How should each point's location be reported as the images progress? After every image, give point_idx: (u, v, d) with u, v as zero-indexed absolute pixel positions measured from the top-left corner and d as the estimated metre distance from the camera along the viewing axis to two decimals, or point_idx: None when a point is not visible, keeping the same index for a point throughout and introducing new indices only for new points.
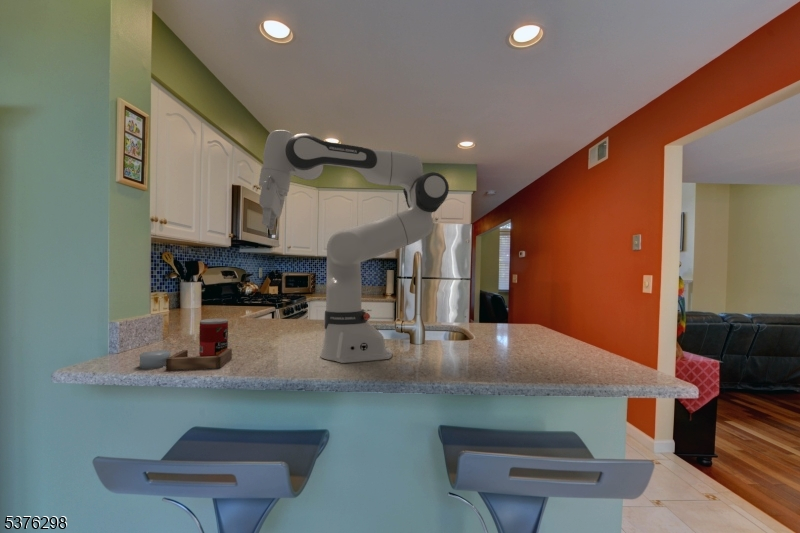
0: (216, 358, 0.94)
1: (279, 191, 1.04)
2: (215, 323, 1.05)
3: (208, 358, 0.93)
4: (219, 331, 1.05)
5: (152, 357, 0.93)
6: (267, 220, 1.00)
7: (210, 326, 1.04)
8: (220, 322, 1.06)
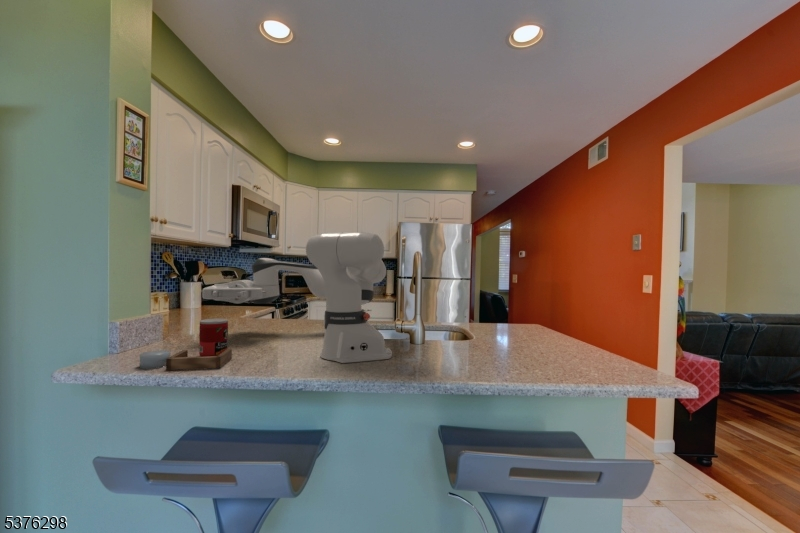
0: (216, 358, 0.94)
1: (243, 297, 1.31)
2: (215, 323, 1.05)
3: (208, 358, 0.93)
4: (219, 331, 1.05)
5: (152, 357, 0.93)
6: (242, 295, 1.22)
7: (210, 326, 1.04)
8: (220, 322, 1.06)
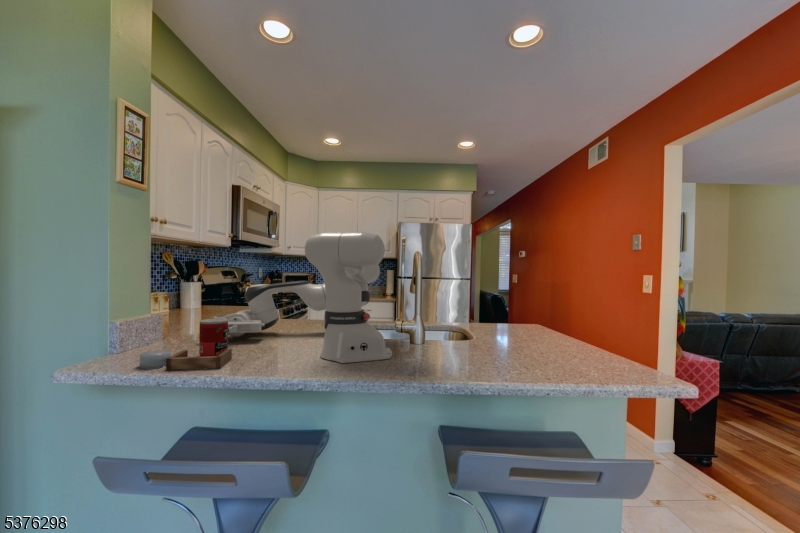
0: (216, 358, 0.94)
1: None
2: (215, 323, 1.05)
3: (208, 358, 0.93)
4: (219, 331, 1.05)
5: (152, 357, 0.93)
6: (231, 331, 1.21)
7: (210, 326, 1.04)
8: (220, 322, 1.06)
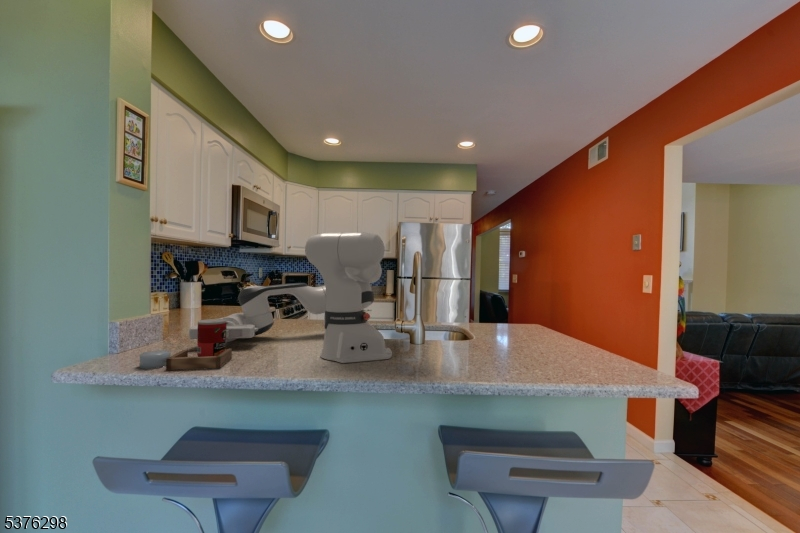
0: (216, 358, 0.94)
1: None
2: (213, 323, 1.03)
3: (208, 358, 0.93)
4: (217, 332, 1.04)
5: (152, 357, 0.93)
6: None
7: (208, 327, 1.03)
8: (218, 322, 1.04)
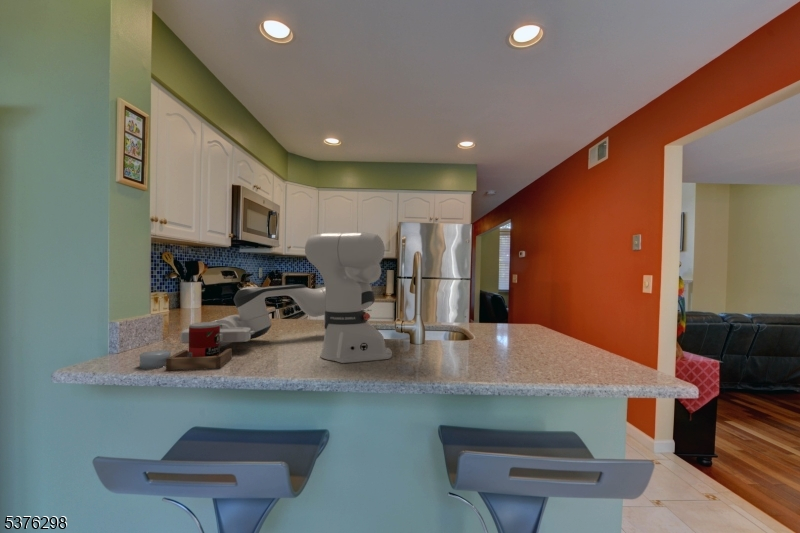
0: (216, 358, 0.94)
1: None
2: (205, 327, 0.97)
3: (208, 358, 0.93)
4: (209, 336, 0.98)
5: (152, 357, 0.93)
6: None
7: (200, 330, 0.97)
8: (211, 326, 0.98)
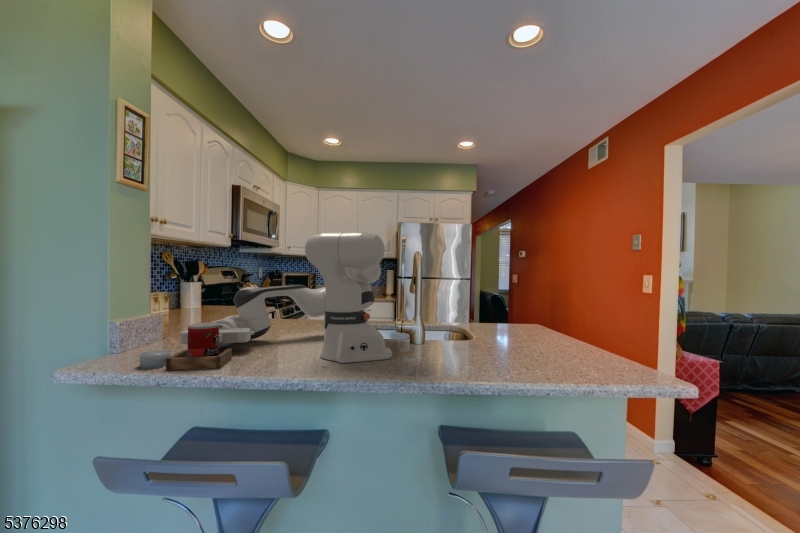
0: (216, 358, 0.94)
1: None
2: (204, 328, 0.96)
3: (208, 358, 0.93)
4: (208, 337, 0.97)
5: (152, 357, 0.93)
6: None
7: (198, 331, 0.96)
8: (210, 327, 0.97)
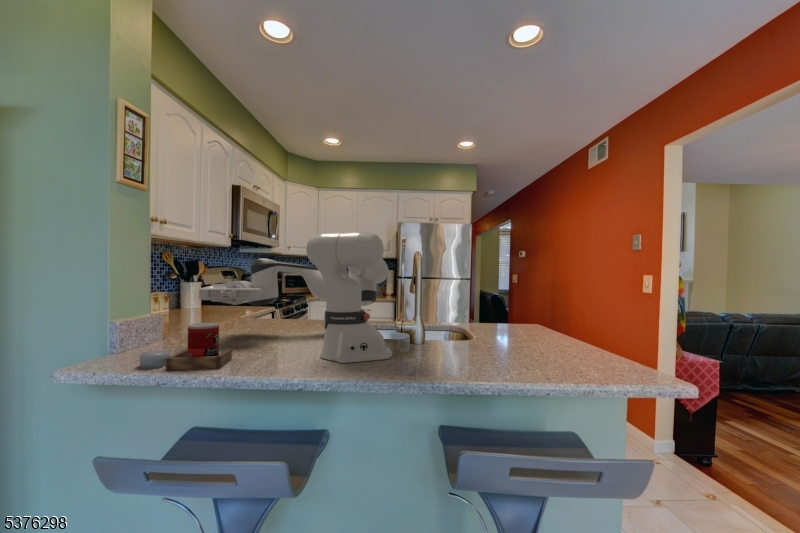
0: (216, 358, 0.94)
1: (241, 298, 1.27)
2: (204, 328, 0.96)
3: (208, 358, 0.93)
4: (208, 337, 0.97)
5: (152, 357, 0.93)
6: (230, 295, 1.17)
7: (199, 331, 0.96)
8: (210, 327, 0.97)
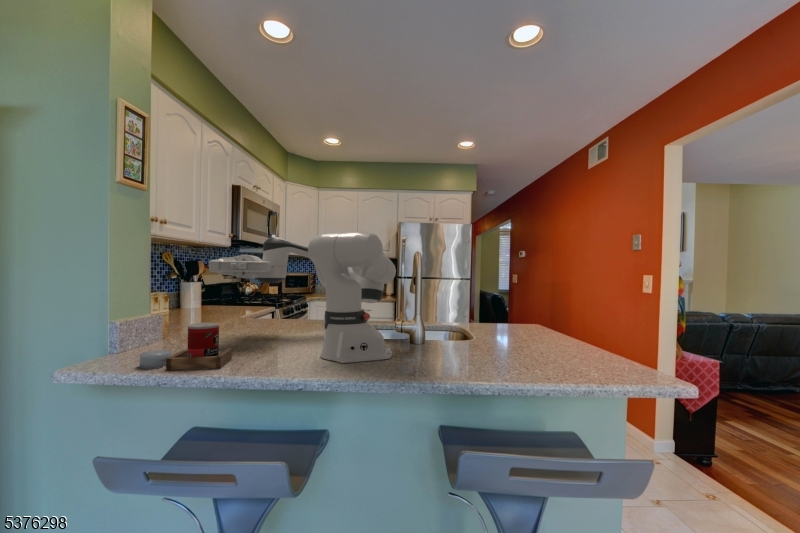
0: (216, 358, 0.94)
1: (250, 272, 1.27)
2: (204, 328, 0.96)
3: (208, 358, 0.93)
4: (208, 337, 0.97)
5: (152, 357, 0.93)
6: (240, 267, 1.17)
7: (199, 331, 0.96)
8: (210, 327, 0.97)
